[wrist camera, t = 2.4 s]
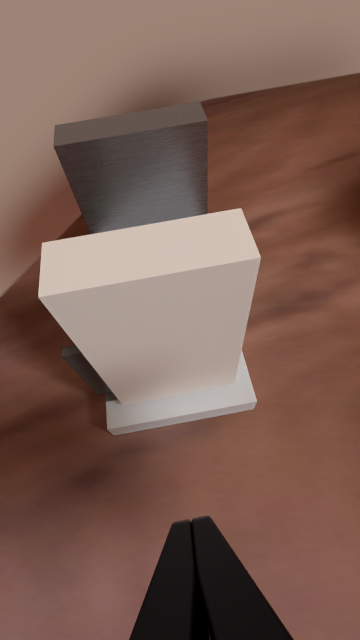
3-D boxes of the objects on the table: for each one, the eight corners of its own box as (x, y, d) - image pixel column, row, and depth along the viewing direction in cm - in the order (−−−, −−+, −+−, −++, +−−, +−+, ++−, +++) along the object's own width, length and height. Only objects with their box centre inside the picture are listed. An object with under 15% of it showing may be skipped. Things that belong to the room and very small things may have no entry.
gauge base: (253, 409, 18) (257, 401, 17) (114, 435, 18) (106, 429, 17) (202, 231, 26) (201, 215, 24) (103, 248, 26) (97, 233, 24)
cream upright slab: (234, 384, 17) (260, 257, 9) (98, 409, 17) (-12, 305, 8) (216, 318, 19) (223, 164, 11) (96, 340, 19) (6, 201, 11)
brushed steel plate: (207, 234, 24) (207, 120, 17) (98, 253, 23) (53, 146, 16) (201, 216, 25) (199, 101, 18) (97, 234, 24) (54, 125, 18)
